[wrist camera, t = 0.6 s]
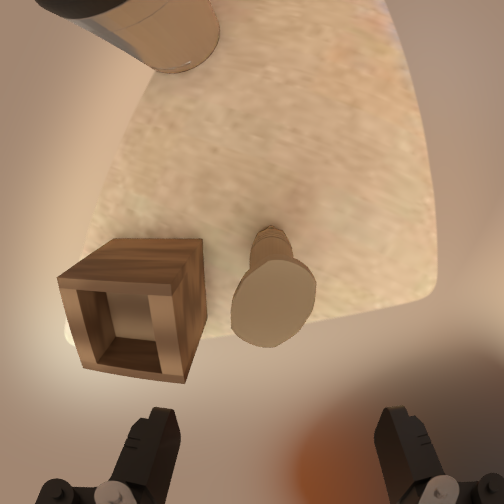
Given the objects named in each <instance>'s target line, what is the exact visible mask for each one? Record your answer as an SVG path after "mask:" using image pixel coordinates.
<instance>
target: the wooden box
mask: <svg viewBox="0 0 504 504" xmlns="http://www.w3.org/2000/svg"><path fill="white" fill-rule="evenodd" d="M57 280H58V284H59V289H60V293H61V297H62V301H63V305H64V308H65V312H66V316H67V320H68V323H69V326H70V330H71V333H72V336H73V339H74V343H75V346H76V349H77V351H78V354H79V357H80V360H81V363H82V366H83V368H86V369H90V370H95V371H100V372H105V373H111V374H117V375H122V376H128V377H134V378H141V379H148V380H155V381H164V382H172V383H181V384H185V382H186V379H187V376H188V373H189V370H190V367H191V364H192V361H193V358H194V356H195V352H196V350H197V347H198V344H199V341H200V338H201V335H202V332H203V329H204V326H205V323H206V321H207V308H206V294H205V279H204V262H203V244H202V239H113V240H111V241H109V242H108V243H106V244H105V245H103V246H102V247H100V248H99V249H97V250H96V251H94V252H93V253H91V254H90V255H88V256H87V257H85V258H84V259H83V260H81V261H80V262H78V263H77V264H75V265H74V266H72V267H71V268H70V269H68V270H67V271H65V272H64V273H63V274H61V275H60V276H58V277H57Z"/></svg>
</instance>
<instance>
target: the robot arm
mask: <svg viewBox="0 0 504 504" xmlns="http://www.w3.org/2000/svg"><path fill="white" fill-rule="evenodd" d="M35 1H36V2H37V3H38V4H39V5H40V6H41V7H43V8H44V9H46V10H48V11H50V12H52V13H54V14H56V15H58V16H60V17H63V18H64V19H66V20H68V21H70V22H72V23H74V24H76V25H78V26H80V27H82V28H84V29H86V30H88V31H90V32H91V33H93V34H95V35H97V36H99V37H100V38H102V39H104V40H106V41H108V42H109V43H111V44H113V45H114V46H116V47H118V48H120V49H121V50H123V51H125V52H126V53H128V54H130V55H131V56H133V57H135V58H136V59H138V60H139V61H141V62H143V63H144V64H146V65H148V66H149V67H151V68H152V69H154V70H157V71H159V72H164V73H178V72H183V71H186V70H189V69H192V68H194V67H196V66H197V65H199V64H200V63H202V62H203V61H204V60H205V59H206V58H208V57H209V55H210V54H211V53H212V52H213V50H214V49H215V47H216V45H217V43H218V39H219V32H220V27H219V24H218V20H217V18H216V15H215V13H214V11H213V8H212V6H211V3H210V1H209V0H35ZM180 442H181V434H180V429H179V426H178V423H177V420H176V416H175V412H174V410H173V409H167V408H159V407H154V408H153V409H152V411H151V414H150V416H149V419H145V418H140V419H139V420H138V421H137V422H136V423H135V424H134V425H133V426H132V427H131V430H130V432H129V434H128V438H127V439H126V441H125V444H124V447H123V449H122V451H121V454H120V456H119V459H118V461H117V463H116V466H115V468H114V471H113V473H112V476H111V478H110V479H109V480H108V481H107V482H104V483H102V484H101V485H99V486H98V487H94V488H92V487H91V488H90V487H88V488H87V487H72V486H71V485H70V484H69V483H68V482H66V481H65V480H62V479H51V480H49V481H47V482H46V483H45V484H44V485H43V487H42V489H41V491H40V493H39V496H38V498H37V501H36V503H35V504H165V501H166V497H167V493H168V489H169V486H170V482H171V478H172V474H173V470H174V466H175V462H176V459H177V455H178V451H179V447H180ZM374 443H375V447H376V450H377V454H378V458H379V461H380V465H381V469H382V473H383V477H384V480H385V484H386V488H387V492H388V496H389V500H390V504H504V478H503V477H502V476H501V475H499V474H497V473H489V474H486V475H485V476H483V477H482V478H481V479H480V480H479V481H476V482H457V481H456V480H455V479H453V478H452V477H450V476H446V475H445V473H444V471H443V469H442V466H441V464H440V461H439V460H438V457H437V454H436V452H435V449H434V447H433V444H431V440H430V437H429V436H428V433H427V431H426V428H425V426H424V424H423V423H422V422H421V421H420V420H419V419H418V418H417V417H416V416H410V417H409V415H408V413H407V410H406V408H405V407H404V406H403V405H400V406H394V407H387V408H384V410H383V412H382V414H381V417H380V420H379V422H378V424H377V427H376V429H375V433H374Z"/></svg>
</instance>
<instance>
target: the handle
mask: <svg viewBox="0 0 504 504" xmlns="http://www.w3.org/2000/svg"><path fill="white" fill-rule="evenodd" d="M315 293H316V281H315V278H314V276H313V274H312V273H311V271H310V270H309V268H308V267H307V266H305V265H304V264H303V263H302V262H300V261H298V260H297V259H295V258H293V252H292V248H291V245H290V242H289V240H288V239H287V237H286V235H285V233H284V232H283V231H282V230H277V229H275V228H274V226H269V227H268V228H267V229H266V230H264V231H260V232H259V233H258V234H257V235H256V238H255V240H254V243H253V245H252V248H251V253H250V269H249V270H248V271H247V272H246V273H245V275H244V276H243V278H242V279H241V281H240V283H239V285H238V287H237V289H236V291H235V294H234V296H233V300H232V307H231V329H232V330H233V331H234V333H235V334H236V335H237V336H238V337H239V338H241V339H242V340H244V341H246V342H248V343H250V344H252V345H255V346H259V347H269V348H271V347H276V346H278V345H280V344H281V343H283V342H285V341H286V340H288V339H289V338H291V337H292V336H294V335H295V334H296V333H297V332H298V331H299V330H300V329H301V327H302V326H303V325H304V323H305V322H306V320H307V319H308V317H309V316H310V314H311V312H312V310H313V306H314V302H315Z"/></svg>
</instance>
